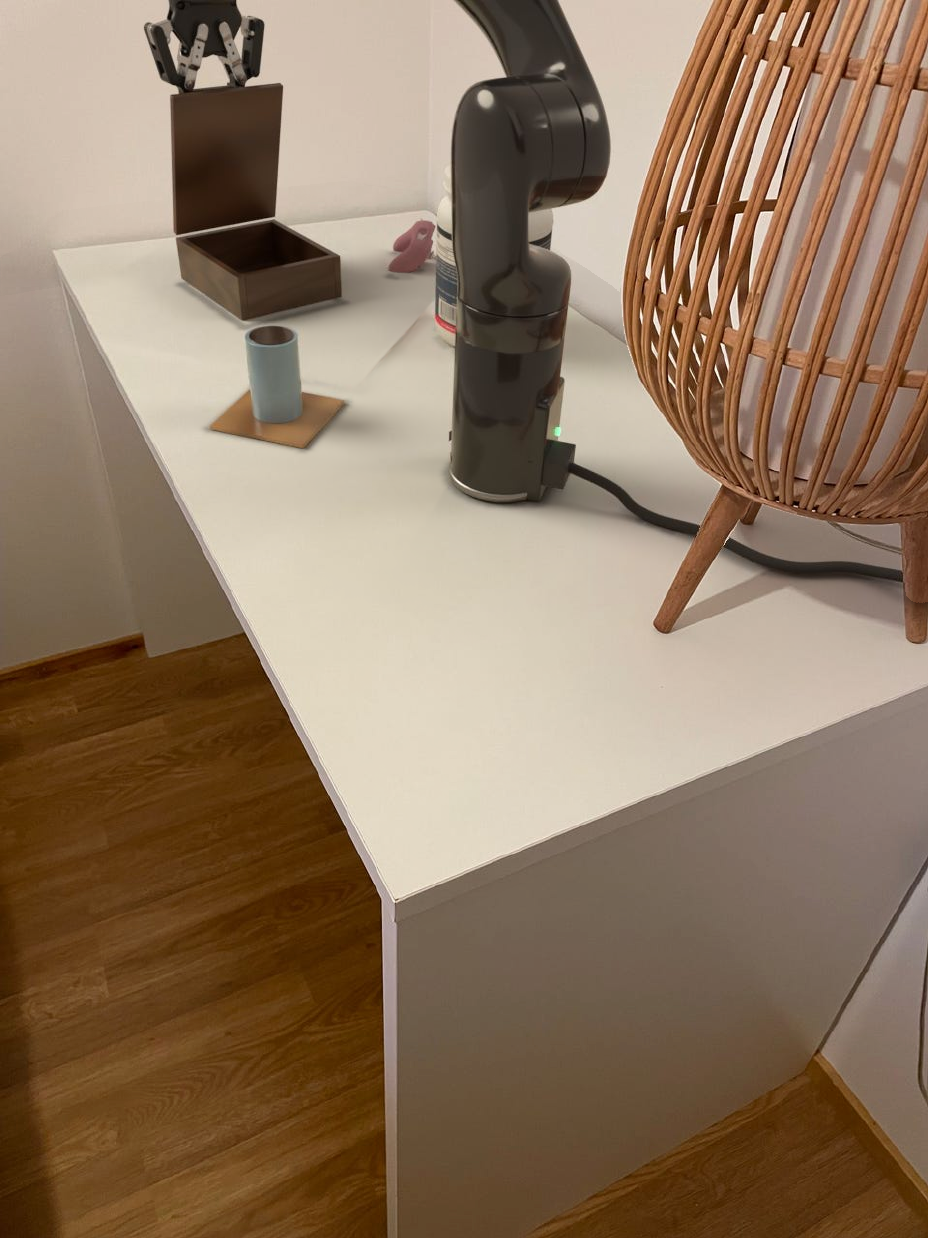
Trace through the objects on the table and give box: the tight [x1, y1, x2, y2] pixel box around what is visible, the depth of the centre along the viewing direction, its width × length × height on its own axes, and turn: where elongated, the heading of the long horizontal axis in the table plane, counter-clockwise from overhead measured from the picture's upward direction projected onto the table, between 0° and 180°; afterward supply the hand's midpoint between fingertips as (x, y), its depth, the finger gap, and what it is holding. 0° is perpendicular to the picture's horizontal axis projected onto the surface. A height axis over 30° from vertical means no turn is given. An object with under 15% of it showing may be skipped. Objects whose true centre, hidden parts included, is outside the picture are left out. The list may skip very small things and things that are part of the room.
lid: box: [169, 82, 284, 236], centre depth 117 cm, size 17×14×5 cm
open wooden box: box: [175, 219, 343, 322], centre depth 120 cm, size 16×14×6 cm
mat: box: [209, 389, 345, 449], centre depth 98 cm, size 10×10×1 cm
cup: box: [244, 324, 303, 424], centre depth 95 cm, size 5×5×8 cm
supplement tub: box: [434, 164, 554, 348], centre depth 109 cm, size 13×13×18 cm
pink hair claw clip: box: [388, 217, 436, 273], centre depth 130 cm, size 10×5×7 cm, turn 179°
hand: (215, 120), depth 115 cm, fingers closed on lid, 5 cm apart
